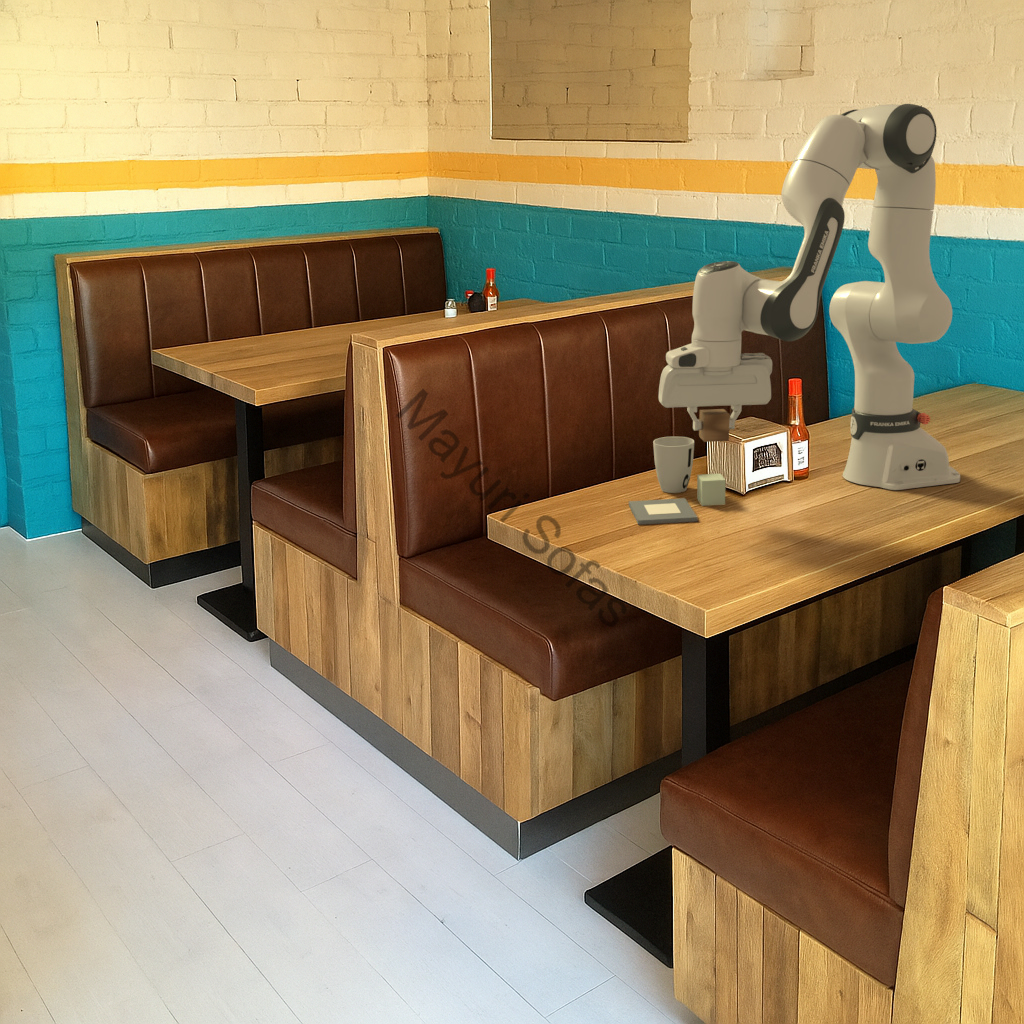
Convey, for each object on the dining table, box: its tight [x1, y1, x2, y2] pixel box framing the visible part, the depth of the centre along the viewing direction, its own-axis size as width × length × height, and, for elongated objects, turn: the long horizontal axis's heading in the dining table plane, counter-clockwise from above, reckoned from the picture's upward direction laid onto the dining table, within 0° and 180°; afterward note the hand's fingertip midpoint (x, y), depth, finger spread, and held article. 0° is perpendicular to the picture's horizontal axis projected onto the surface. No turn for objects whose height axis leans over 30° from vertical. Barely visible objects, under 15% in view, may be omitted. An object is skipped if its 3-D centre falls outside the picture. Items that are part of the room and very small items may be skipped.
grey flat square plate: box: [628, 497, 699, 525], centre depth 214 cm, size 11×12×1 cm
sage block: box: [696, 473, 726, 507], centre depth 219 cm, size 4×4×5 cm
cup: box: [652, 436, 695, 494], centre depth 227 cm, size 8×8×10 cm
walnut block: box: [698, 408, 731, 443], centre depth 208 cm, size 4×4×5 cm
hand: (713, 429), depth 208 cm, fingers closed on walnut block, 4 cm apart
